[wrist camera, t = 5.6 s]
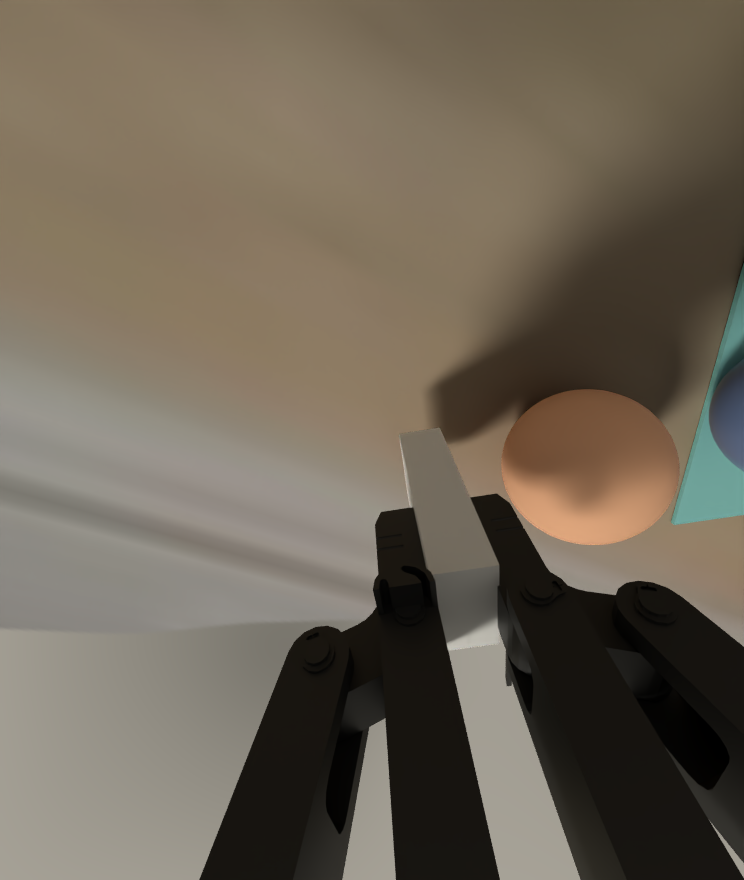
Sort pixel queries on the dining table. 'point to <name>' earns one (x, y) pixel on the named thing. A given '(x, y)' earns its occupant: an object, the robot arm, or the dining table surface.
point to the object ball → (729, 415)
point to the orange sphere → (590, 467)
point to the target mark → (708, 471)
